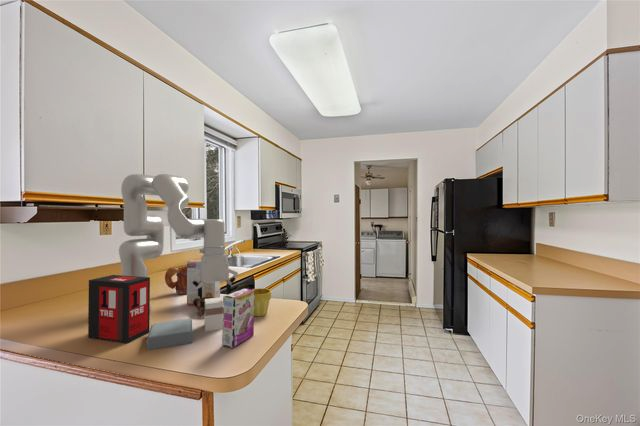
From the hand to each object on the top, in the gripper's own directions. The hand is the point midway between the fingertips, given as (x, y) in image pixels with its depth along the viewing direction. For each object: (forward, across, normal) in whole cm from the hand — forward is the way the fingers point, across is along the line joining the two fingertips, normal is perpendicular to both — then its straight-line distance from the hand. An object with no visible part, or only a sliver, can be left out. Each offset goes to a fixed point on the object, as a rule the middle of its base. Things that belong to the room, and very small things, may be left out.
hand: (214, 296), depth 108 cm
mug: (+11, -14, +54) cm, 56 cm away
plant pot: (+12, +18, +8) cm, 23 cm away
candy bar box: (+12, +6, -16) cm, 21 cm away
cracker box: (+11, -2, +32) cm, 34 cm away
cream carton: (+12, 0, 0) cm, 12 cm away
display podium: (+12, -14, -4) cm, 19 cm away
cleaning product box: (+11, -31, +6) cm, 34 cm away
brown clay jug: (+12, -2, +18) cm, 22 cm away
